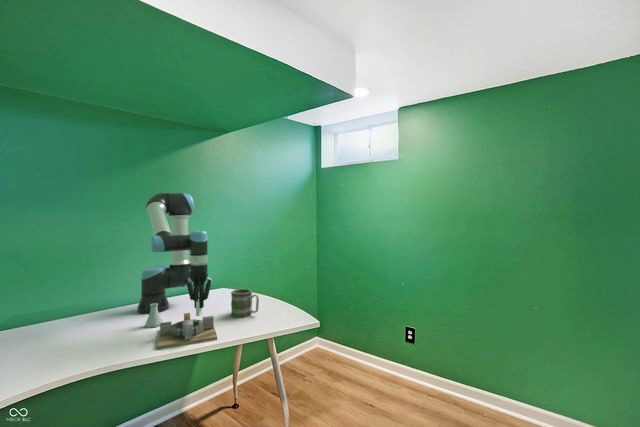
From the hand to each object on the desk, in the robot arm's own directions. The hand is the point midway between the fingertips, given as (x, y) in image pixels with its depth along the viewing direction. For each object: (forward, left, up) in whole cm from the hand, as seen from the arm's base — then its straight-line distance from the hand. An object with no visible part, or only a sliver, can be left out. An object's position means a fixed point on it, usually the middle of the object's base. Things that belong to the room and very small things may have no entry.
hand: (199, 315), depth 138 cm
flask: (-11, -19, -6) cm, 23 cm away
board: (+8, -5, -5) cm, 11 cm away
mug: (-7, +23, -6) cm, 25 cm away
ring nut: (+8, -5, -4) cm, 10 cm away
